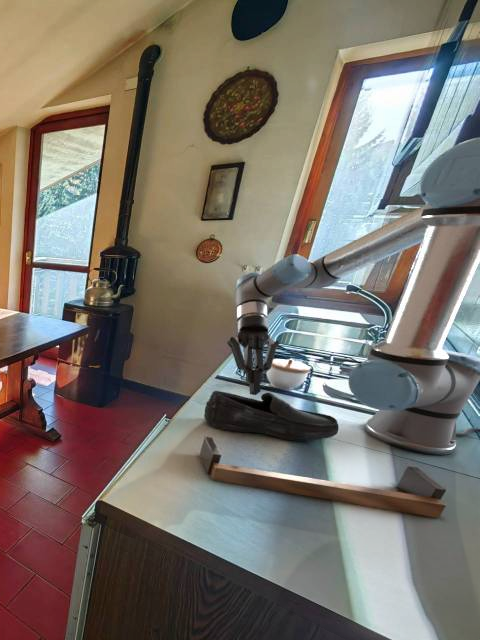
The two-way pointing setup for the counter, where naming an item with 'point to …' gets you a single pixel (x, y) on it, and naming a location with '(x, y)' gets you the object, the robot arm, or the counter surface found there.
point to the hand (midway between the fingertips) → (254, 392)
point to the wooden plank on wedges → (334, 486)
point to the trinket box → (287, 374)
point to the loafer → (267, 417)
